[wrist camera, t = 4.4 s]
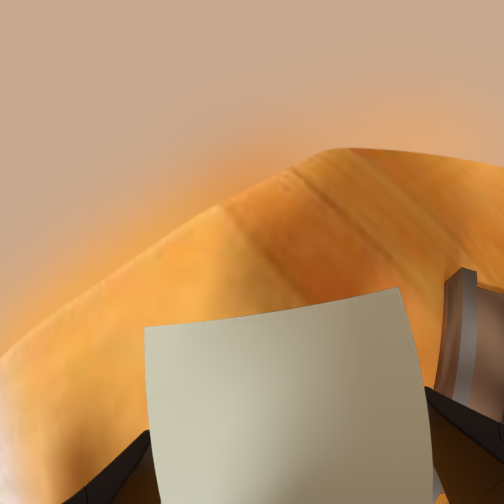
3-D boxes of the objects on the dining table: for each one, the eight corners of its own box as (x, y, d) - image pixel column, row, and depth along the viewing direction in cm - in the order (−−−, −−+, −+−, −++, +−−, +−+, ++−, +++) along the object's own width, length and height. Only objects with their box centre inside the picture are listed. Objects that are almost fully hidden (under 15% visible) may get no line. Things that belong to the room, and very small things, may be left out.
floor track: (488, 482, 7) (506, 486, 5) (399, 494, 10) (415, 505, 8) (516, 301, 15) (533, 290, 12) (444, 282, 17) (461, 267, 15)
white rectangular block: (327, 440, 13) (430, 528, 2) (253, 451, 13) (179, 566, 2) (316, 366, 15) (398, 286, 4) (244, 377, 16) (144, 326, 4)
